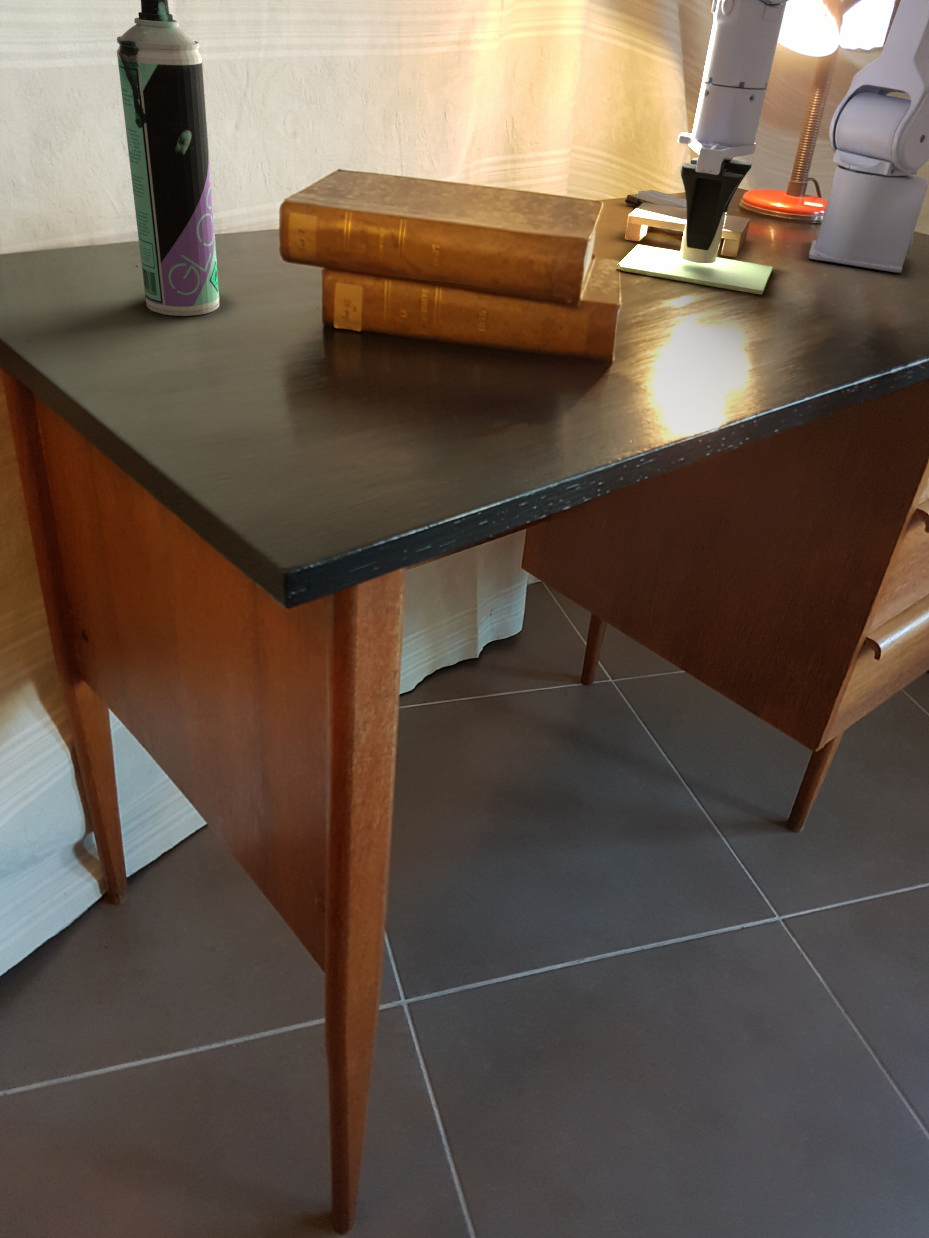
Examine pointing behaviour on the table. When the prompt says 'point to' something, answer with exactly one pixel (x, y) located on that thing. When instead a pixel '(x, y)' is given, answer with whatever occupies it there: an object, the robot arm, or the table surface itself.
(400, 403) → the table surface
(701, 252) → the spice bottle
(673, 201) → the harmonica
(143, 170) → the spray can
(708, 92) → the robot arm
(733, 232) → the small bench
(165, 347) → the table surface
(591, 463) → the table surface
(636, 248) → the mat
